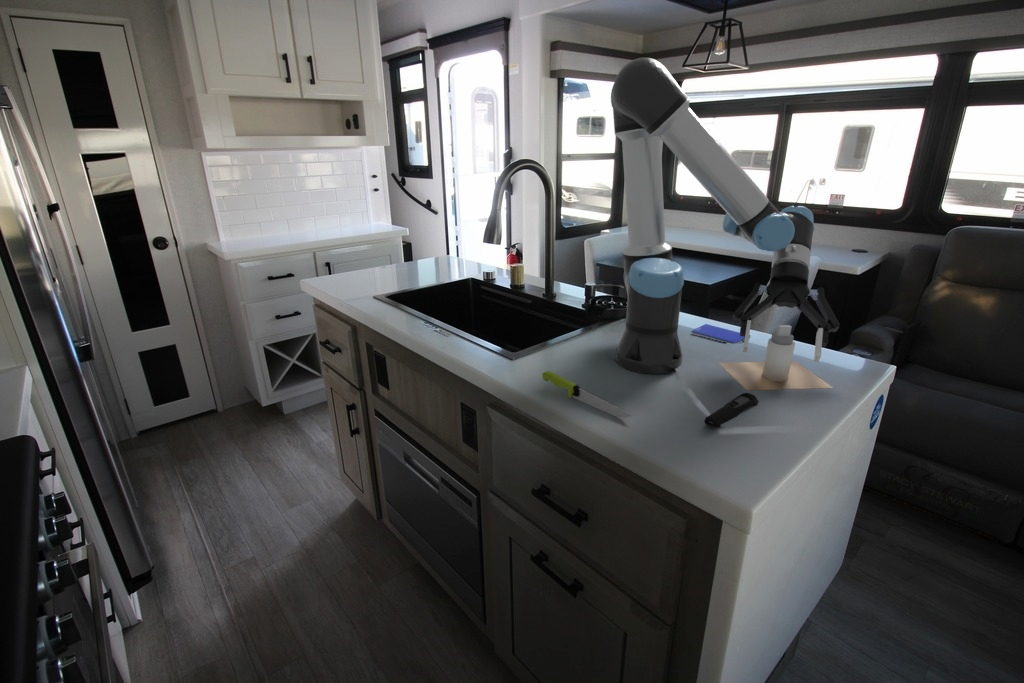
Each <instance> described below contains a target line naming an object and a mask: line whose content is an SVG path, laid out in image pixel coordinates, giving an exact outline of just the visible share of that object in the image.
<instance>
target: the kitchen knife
mask: <svg viewBox="0 0 1024 683" xmlns="http://www.w3.org/2000/svg"><path fill="white" fill-rule="evenodd" d="M541 378H542V379H543V381H544V382H548V381H549V382H551V383H552V384H553V385H554V386H556V387H558V388H560V389H567V398H570V399H572V398H573V399H576V400H577V401H580V402H582V403H585V404H587V405H589V406H591V407H593V408H596V409H599V410H601V411H603V412H605V413H608V414H610V415H612V416H614V417H617V418H622V419H626V418H627V419H628V418H631V416H633V414H631V413H629V412H627V411H625V410H624V409H621V408H619V407H617V406H615V405H613V404H611V403H610V402H607V401H605V400H604V399H601V398H600V397H598V396H596V395H593V394H592V393H590V392H588V391H586V390H584V389H582V388H581V387H580V386H579V385H578V384H576V383H574V382H572V381H570V380H568V379H566V378H564V377H562V376H560V375H558V374H557V373H554V372H552V371H550V370H546V371H543V372H542V376H541Z"/></svg>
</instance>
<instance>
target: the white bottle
mask: <svg viewBox="0 0 1024 683" xmlns="http://www.w3.org/2000/svg"><path fill="white" fill-rule="evenodd" d="M791 332H792V326H791V325H788V324H785V325H784V324H783V325H782V324H778V325H777V328H776V331H775V332H772V333H771V337H770V338H768V340H767V346H766V350H765V351H766V352H765V357H764V361H763V362H764V367H763V373H762V376H763V377H764V378H766V379H768V380H772V381H778V382H783V381H787V380H788V376H789V371H790V366H791V361H793V356H794V351H795V347H796V343H795V341H794V338H795V336H794V335H793V334H791Z"/></svg>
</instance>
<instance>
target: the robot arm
mask: <svg viewBox="0 0 1024 683" xmlns="http://www.w3.org/2000/svg"><path fill="white" fill-rule="evenodd" d="M690 100H691V99H690V97H689V96H688V95H687V94H686V93H685V91H684V90H683V89H682V87H681V86H680V85H679V84H678V82H677V81H676V79H675V78H674V77H673V75H672V74H671V73H670V71H669V70H668V68H667V67H666V66H665V65H664V64H663V63H662V62H660V61H658V60H656V59H654V58H651V57H638V58H635V59H633V60H631V61H629V62H627V63H626V64H625V65H624V66H623V67H622V68H621V69H620V70H619V72H618V74H617V75H616V77H615V80H614V82H613V85H612V87H611V92H610V103H611V108H612V113H613V126H614V127H613V128H614V135H615V137H617V138H618V140H620V141H621V142H622V143H621V144H622V145H621V146H622V158H623V159H622V161H623V174H624V176H623V177H624V191H625V206H626V222H627V236H628V244H627V246H626V248H625V249H623V252H622V254H623V256H622V257H623V270H624V272H623V282H624V286H625V289H626V293H627V301H626V302H627V303H626V316H625V328H624V330H623V334H622V336H621V338H620V340H619V343H618V345H617V347H616V349H615V350H616V351H615V362H616V363H617V364H618V365H619V366H621V367H623V368H624V369H627V370H629V371H633V372H636V373H642V374H649V375H661V374H662V375H663V374H668V373H673V372H676V371H677V370H676V369H677V368H678V367H679V366H681V365H682V363H683V352H682V348H681V343H680V340H679V334H678V328H679V319H680V311H681V301H682V294H683V293H682V292H683V286H684V284H685V278H684V269H683V267H682V265H680V264H679V263H677V262H676V261H673V247H672V245H671V244H669V243H668V242H667V241H666V232H665V230H666V229H665V209H664V205H665V204H664V185H663V183H664V181H663V160H662V156H663V155H662V142H663V143H664V144H665V145H666V146H667V147H668V149H669V150H670V151H671V152H672V153H673V154H674V156H675V157H676V158H677V159H678V160H679V161H680V162H681V163H682V164H683V166H684V167H685V168H686V169H687V170H688V171H689V172H690V173H691V175H692V176H693V177H694V178H695V179H696V180H697V181H698V182H699V183H700V185H701V186H702V187H703V188H704V189H705V190H706V191H707V193H708V194H710V196H711V197H712V198H713V200H715V202H717V204H718V205H719V206H720V207H721V208H722V210H724V211H725V215H724V218H723V221H722V230H723V231H724V232H725V233H727V234H731V235H732V236H736V237H739V238H743V239H745V240H746V241H748V242H750V243H751V244H753V245H754V246H756V247H757V249H760V250H761V251H766V252H773V255H772V262H771V270H770V278H769V283H768V285H763V284H761V283H760V282H759V281H756V282H755V283H754V284H753V288H752V290H751V291H750V293H749V294H748V295H747V297H745V299H744V300H743V301H742V302H741V304H740V305H739V306H738V307H737V309H736V310H735V311H734V312H733V317H732V320H733V322H734V321H735V322H739V323H740V329H739V333H740V336H742V337H745V340H744V342H743V349H742V352H743V353H747V351H748V346H749V340H750V339H749V335H751V333H750V331H751V326H752V325H751V324H752V320H754V319H756V318H757V317H758V316H759V315H761V314H762V313H763V312H765V311H767V309H770V308H771V307H773V306H774V305H776V306H777V307H779V308H784V307H787V308H791V309H794V308H795V307H796V308H797V309H798V310H799V311H800V312H802V313H803V314H804V316H806V318H808V320H810V322H811V323H812V324H813V325H814V327H816V329H817V331H816V334H815V335H816V336H815V345H814V346H815V347H814V357H813V358H814V359H813V362H816V363H818V362H819V361H820V360H821V357H822V350H823V349H822V347H823V348H825V347H826V346H827V345H828V343H829V337H830V336H829V334H830V333H836V332H838V330H839V328H840V325H841V324H840V322H839V320H838V318H837V316H836V314H835V313H834V310H833V309H832V307H831V305H830V303H829V302H828V300H827V298H826V295H825V288H824V287H822V286H821V287H818V288H817V289H809V273H810V262H811V252H812V250H811V249H812V243H813V234H814V230H815V228H814V226H815V225H814V223H815V220H814V214H813V212H812V210H810V208H808V207H806V206H803V205H798V206H794V205H790V206H787V207H785V208H783V209H782V210H780V211H779V209H777V207H776V206H775V205H774V204H773V203H772V202H771V200H769V198H768V197H767V196H766V194H765V193H764V192H763V191H762V189H760V187H759V186H758V185H757V184H756V183H755V182H754V181H753V179H752V178H751V177H750V176H749V175H748V174H747V172H746V171H745V170H744V169H743V167H742V166H741V165H740V164H739V163H738V162H737V161H736V160H735V158H734V157H733V156H732V155H731V154H730V153H729V152H728V151H727V149H726V148H725V147H724V145H723V144H722V143H721V142H720V141H719V139H717V137H716V136H715V135H714V134H713V133H712V132H711V131H710V129H709V128H708V126H706V125H705V124H704V122H703V121H702V120H701V119H700V118H699V117H698V115H697V114H696V113H695V112H694V110H692V109H691V107H690ZM763 293H766V295H767V297H766V298H764V299H763V300H762V301H761V302H759V303H758V304H756V305H755V306H754V307H753V308H751V309H750V310H749V311H747V310H748V309H749V308H750V307H751V305H752V304H753V303H754V302H755V300H756V299H758V296H761V295H762V294H763ZM809 296H810V297H811V298H812V300H813V301H815V303H816V306H817V307H818V309H819V311H820V313H821V314H820V313H819V312H818V311H817V310H816V309H815V308H814V307H813V305H812V304H811V303H810V302H809V300H808V299H807V298H808V297H809Z"/></svg>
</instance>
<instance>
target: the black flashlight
mask: <svg viewBox="0 0 1024 683" xmlns="http://www.w3.org/2000/svg"><path fill="white" fill-rule="evenodd" d="M758 404H759V400H758V398H757V397H756V396H755V394H752V393H749V392H744V393H740V394H739V395H738V396H736V397H734V398H733V399H731V400H730V401H728V402H727V403H725V404H724V405H723V406H722V407H720V408H719V409H717V410H716V411H714V412H712V413H711V414H709V415H708V416H706V418H705V419H704V421H703V422H704V424H706V425H708V426H710V427H712V428H714V429H716V428H720V427H722V425H723V424H725V423H727V422H729V421H731V420H733V419H735V418H736V417H738V416H739V415H740V414H741V413H742V412H743V411H745V410H746V409H748V408H749V407H751V406H758Z"/></svg>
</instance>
